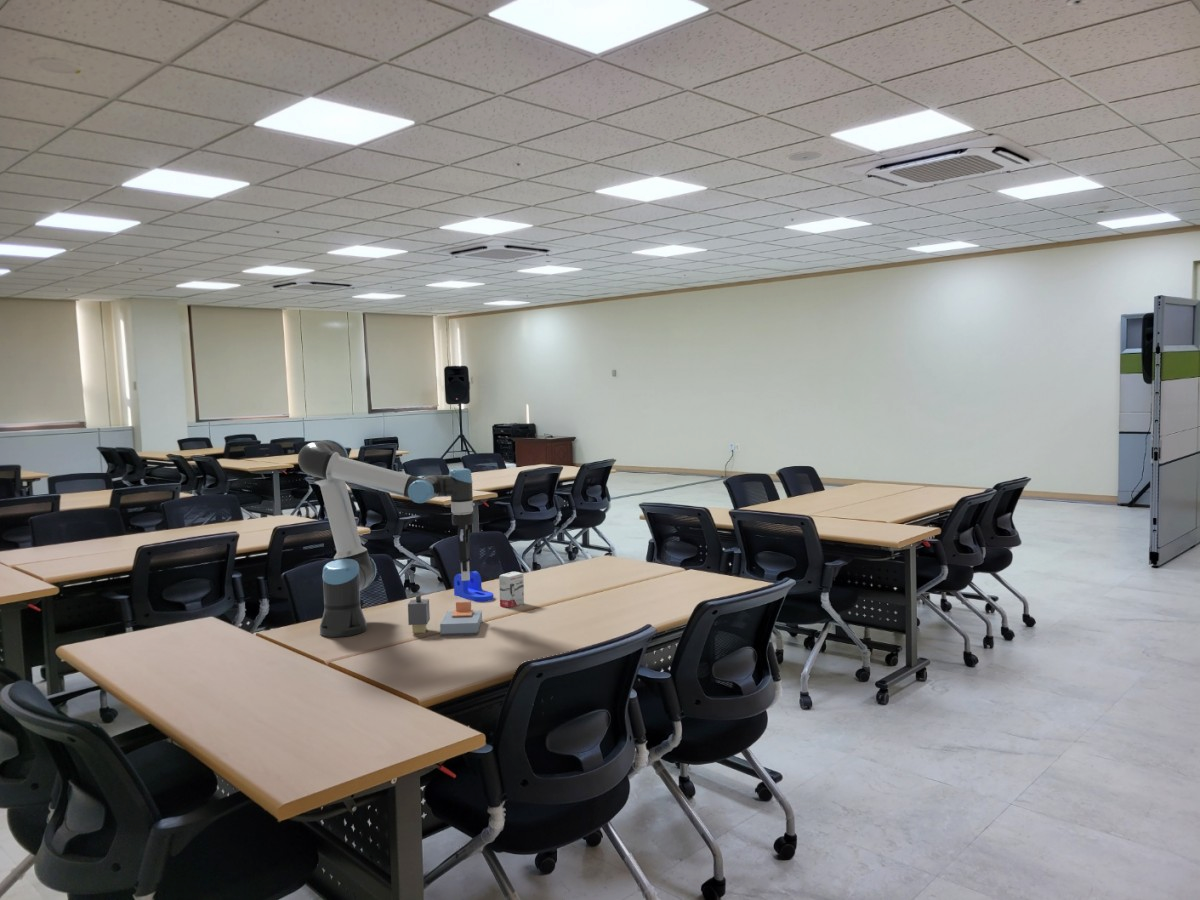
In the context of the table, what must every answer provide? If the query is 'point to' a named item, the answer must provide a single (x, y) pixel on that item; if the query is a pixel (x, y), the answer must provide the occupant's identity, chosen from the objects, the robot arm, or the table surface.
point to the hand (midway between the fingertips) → (465, 579)
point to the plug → (418, 614)
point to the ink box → (511, 589)
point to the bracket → (471, 588)
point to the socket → (461, 624)
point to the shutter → (463, 609)
